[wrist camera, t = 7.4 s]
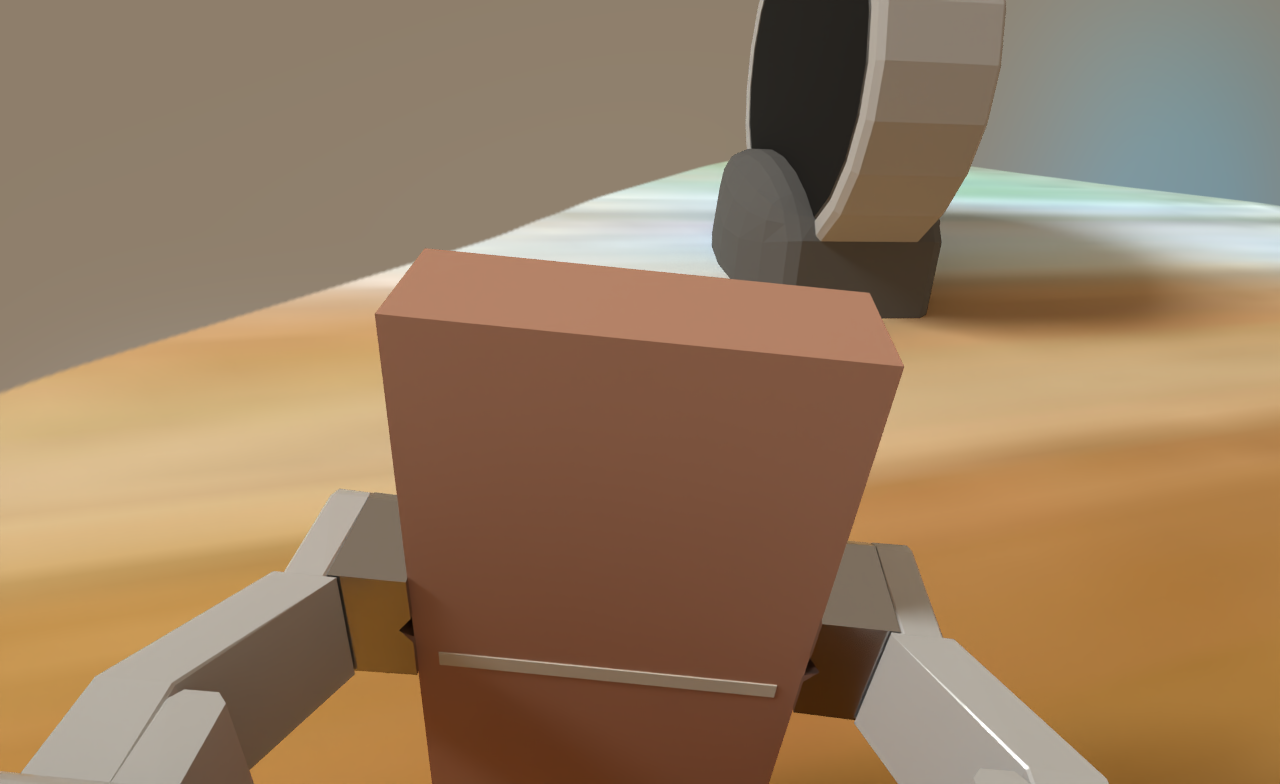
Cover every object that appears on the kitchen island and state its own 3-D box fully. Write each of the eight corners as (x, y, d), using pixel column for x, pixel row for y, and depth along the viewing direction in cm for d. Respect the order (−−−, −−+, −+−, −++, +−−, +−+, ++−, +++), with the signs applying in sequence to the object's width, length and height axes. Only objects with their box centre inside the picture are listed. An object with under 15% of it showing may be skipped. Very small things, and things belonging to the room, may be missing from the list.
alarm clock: (686, 210, 46) (725, -158, 36) (843, 212, 48) (921, -139, 38) (762, 339, 33) (857, -186, 23) (976, 336, 34) (1151, -154, 25)
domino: (738, 877, 13) (904, 367, 7) (439, 849, 12) (374, 314, 7) (733, 782, 14) (869, 292, 8) (464, 755, 14) (425, 247, 8)
